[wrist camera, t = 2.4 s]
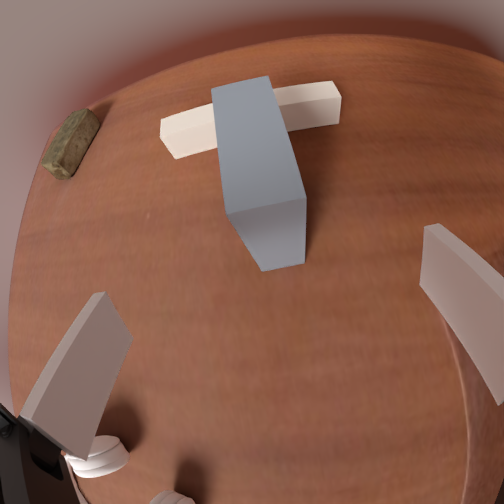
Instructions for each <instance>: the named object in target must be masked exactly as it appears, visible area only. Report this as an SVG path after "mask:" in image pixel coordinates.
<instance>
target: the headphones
mask: <svg viewBox="0 0 504 504" xmlns="http://www.w3.org/2000/svg"><path fill="white" fill-rule="evenodd" d="M64 458H65V460H66V462H67V466H68V469H69V473H70V476H71V479H72V482H73V485H74V488H75V491H76V493H77V496H78V499H79V501H80V504H88V503H87V502H86V500H85V499H84V497H83V496H82V494H81V493H80V491H79V489H78V487H77V484H76V481H75V479H74V476H73V473H72V468H71V466H72V467H73V471H74V472H75V473H76V474H77V475H78V476H80V477H85V478H92V477H99V476H103V475H106V474H109V473H112V472H114V471H116V470H118V469H120V468H121V467H123V466H124V465H126V464H127V462H128V461H129V459H130V455H129V453H128V451H126V449H125V447H124V445H123V444H122V443H121V442H120V439H119V438H118V437H115V436H108V435H102V436H96V437H94V440H93V443H92V446H91V449H90V452H89V455H88V458H87V462H86V461H83V460H79V459H76V458H73V457H71V456H70V455H69V454H67V453H66V455H65V456H64ZM149 504H195V502H194V501H193V499H191V498H188V497H186V496H184V495H182V494H178V493H177V492H175V491H172V490H165V491H162V492H160V493H159V494H157V495H156V496H155V497H154V498H153V499H152V500H151V502H150V503H149Z"/></svg>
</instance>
